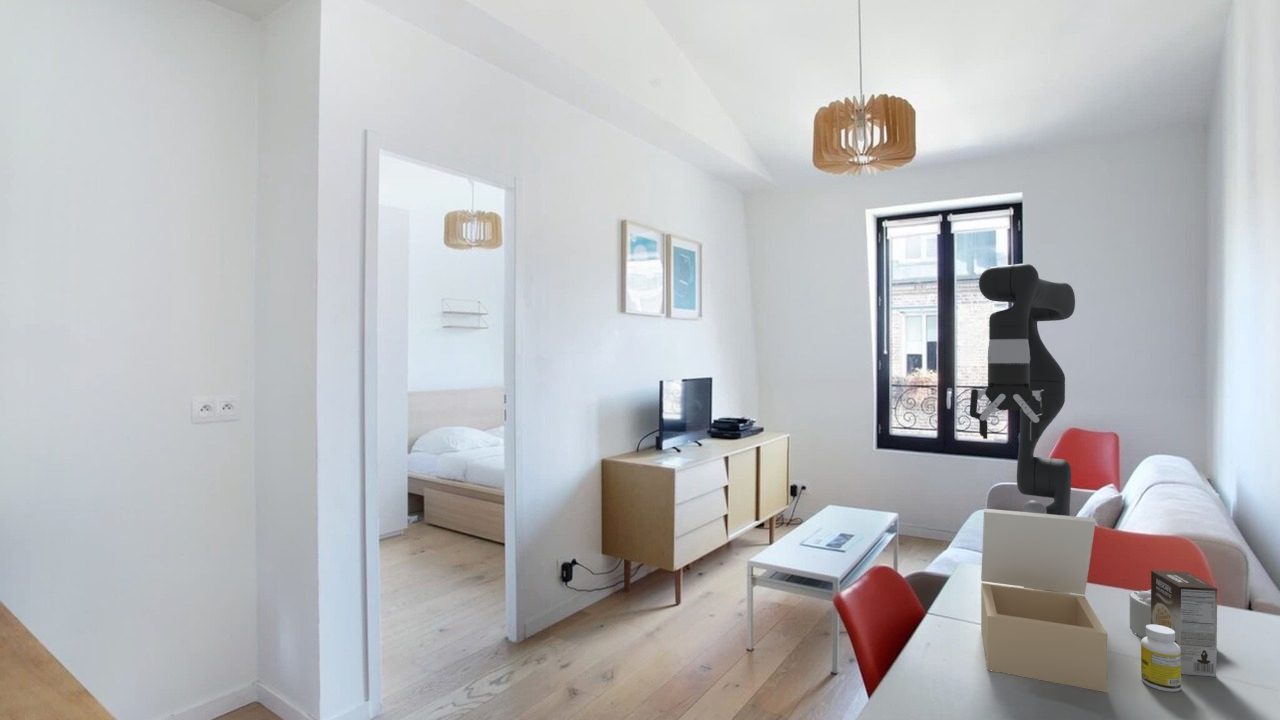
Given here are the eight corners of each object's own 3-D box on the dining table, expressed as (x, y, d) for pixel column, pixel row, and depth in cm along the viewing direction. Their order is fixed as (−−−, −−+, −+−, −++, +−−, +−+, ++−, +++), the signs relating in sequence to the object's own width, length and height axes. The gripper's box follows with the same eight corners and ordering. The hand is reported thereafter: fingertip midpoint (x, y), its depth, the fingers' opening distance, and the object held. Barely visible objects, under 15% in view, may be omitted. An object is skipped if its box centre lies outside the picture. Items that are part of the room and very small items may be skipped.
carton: (981, 629, 133) (981, 582, 133) (1084, 646, 126) (1084, 595, 125) (987, 670, 116) (987, 615, 116) (1107, 692, 108) (1107, 633, 108)
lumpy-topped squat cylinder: (1186, 655, 122) (1187, 610, 122) (1115, 628, 134) (1116, 587, 134) (1220, 647, 125) (1221, 603, 125) (1148, 621, 137) (1148, 581, 137)
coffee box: (1148, 651, 123) (1148, 568, 123) (1186, 654, 122) (1186, 571, 122) (1178, 674, 114) (1178, 585, 114) (1219, 678, 113) (1219, 588, 113)
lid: (981, 581, 133) (979, 558, 138) (1084, 594, 125) (1079, 569, 130) (984, 511, 124) (982, 490, 129) (1095, 522, 117) (1089, 498, 122)
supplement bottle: (1141, 673, 115) (1141, 619, 115) (1180, 683, 111) (1180, 627, 111) (1140, 685, 110) (1140, 629, 110) (1181, 696, 107) (1181, 638, 107)
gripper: (1046, 361, 132) (1046, 439, 132) (969, 361, 138) (969, 435, 138) (1051, 361, 125) (1051, 443, 125) (970, 361, 131) (970, 439, 131)
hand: (1008, 439), depth 132 cm, fingers open, 8 cm apart
